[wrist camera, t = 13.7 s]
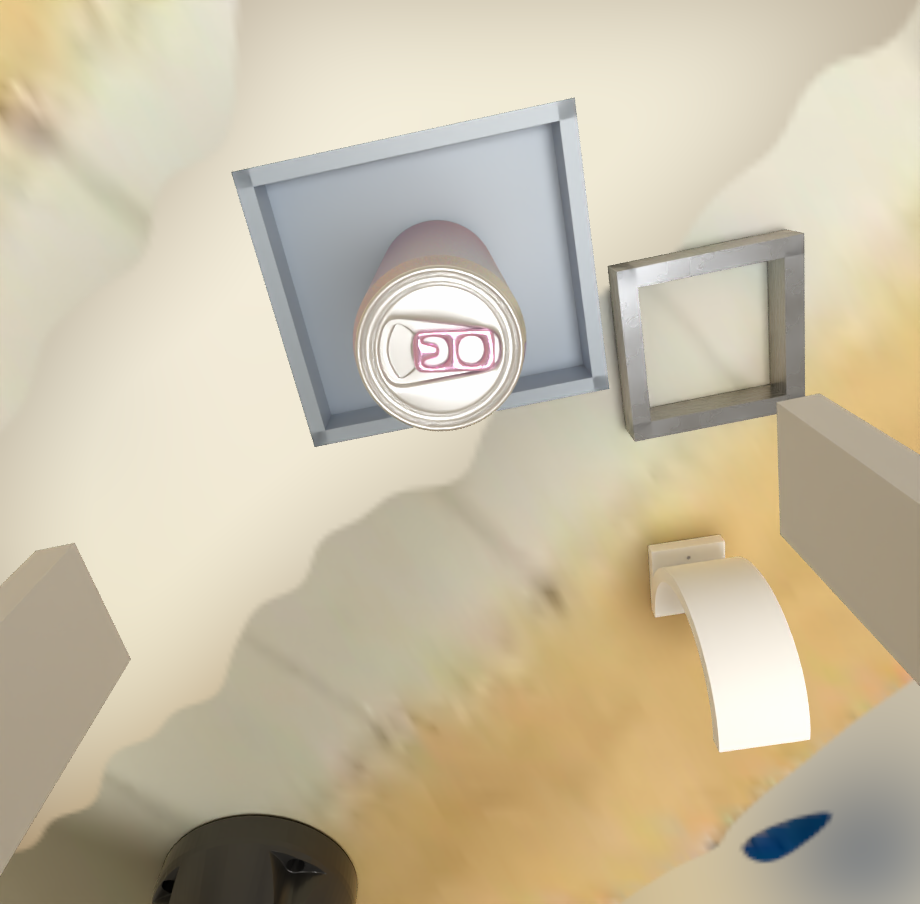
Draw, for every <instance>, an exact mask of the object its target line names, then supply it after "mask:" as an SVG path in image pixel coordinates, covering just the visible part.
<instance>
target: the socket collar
mask: <svg viewBox="0 0 920 904" xmlns="http://www.w3.org/2000/svg"><path fill="white" fill-rule="evenodd" d="M765 261H768V301H769V342H770V384H769V385H764V386H759V387H754V388H749V389H744V390H739V391H733V392H728V393H723V394H718V395H713V396H708V397H703V398H698V399H693V400H687V401H682V402H677V403H672V404H667V405H662V406H657V407H652V408H650V407H649V396H648V386H647V376H646V365H645V355H644V345H643V334H642V324H641V314H640V303H639V293H638V287H643V286H647V285H652V284H657V283H662V282H667V281H672V280H677V279H682V278H687V277H692V276H696V275H701V274H706V273H711V272H716V271H721V270H726V269H731V268H736V267H741V266H746V265H750V264H755V263H760V262H765ZM608 274H609V283H610V292H611V300H612V309H613V318H614V327H615V336H616V345H617V354H618V363H619V372H620V381H621V390H622V399H623V407H624V416H625V425H626V430H627V431H628V432H629V434H630V435H631V437H632V438H633V440H634V441H640V440H645V439H650V438H655V437H660V436H666V435H671V434H676V433H681V432H686V431H691V430H697V429H702V428H707V427H712V426H717V425H722V424H727V423H733V422H738V421H743V420H748V419H753V418H758V417H764V416H769V415H774V414H777V402H780V401H785V400H790V399H795V398H800V397H805V322H804V233H800V232H795V231H791V230H781V231H776V232H771V233H766V234H761V235H756V236H752V237H747V238H742V239H737V240H732V241H727V242H722V243H718V244H713V245H708V246H703V247H698V248H693V249H688V250H683V251H679V252H674V253H669V254H664V255H659V256H654V257H649V258H645V259H640V260H635V261H631V262H626V263H620V264H616V265H611V266H608Z"/></svg>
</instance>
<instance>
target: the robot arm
mask: <svg viewBox="0 0 920 904" xmlns="http://www.w3.org/2000/svg"><path fill="white" fill-rule="evenodd" d="M777 435H778V472H779V508H780V535H781V536H782V537H783V538H784V539H785V540H786V541H787V542H788V543H789V544H790V545H791V547H792V548H793V549H794V550H795V551H796V552H797V553H798V554H799V555H800V556H801V557H802V558H803V560H804V561H805V562H806V563H807V564H808V565H809V566H810V567H811V568H812V569H813V570H814V572H815V573H816V574H817V575H818V576H819V577H820V578H821V579H822V580H823V581H824V582H825V583H826V585H827V586H828V587H829V588H830V589H831V590H832V591H833V592H834V593H835V594H836V595H837V597H838V598H839V599H840V600H841V601H842V602H843V603H844V604H845V605H846V606H847V607H848V608H849V610H850V611H851V612H852V613H853V614H854V615H855V616H856V617H857V618H858V619H859V620H860V622H861V623H862V624H863V625H864V626H865V627H866V628H867V629H868V630H869V631H870V632H871V633H872V635H873V636H874V637H875V638H876V639H877V640H878V641H879V642H880V643H881V644H882V645H883V647H884V648H885V649H886V650H887V651H888V652H889V653H890V654H891V655H892V656H893V657H894V658H895V660H896V661H897V662H898V663H899V664H900V665H901V666H902V667H903V668H904V669H905V670H906V672H907V673H908V674H909V675H910V676H911V677H912V678H913V679H914V680H915V681H916V682H917V683H918V685H920V455H919V454H918V453H916V452H914V451H913V450H911V449H909V448H908V447H906V446H905V445H903V444H901V443H900V442H898V441H896V440H895V439H893V438H891V437H890V436H888V435H887V434H885V433H883V432H882V431H880V430H878V429H877V428H875V427H873V426H872V425H870V424H869V423H867V422H865V421H864V420H862V419H860V418H859V417H857V416H856V415H854V414H852V413H851V412H849V411H847V410H846V409H844V408H842V407H841V406H839V405H838V404H836V403H834V402H833V401H831V400H829V399H828V398H826V397H824V396H823V395H821V394H815V395H810V396H805V397H800V398H795V399H790V400H785V401H780V402H777ZM129 661H130V656H129V655H128V652H127V651H126V648H125V646H124V644H123V642H122V640H121V638H120V636H119V634H118V632H117V630H116V627H115V625H114V623H113V621H112V619H111V617H110V615H109V613H108V611H107V609H106V607H105V605H104V603H103V601H102V599H101V596H100V594H99V592H98V590H97V588H96V586H95V585H94V582H93V580H92V578H91V576H90V574H89V572H88V570H87V567H86V565H85V563H84V561H83V559H82V557H81V555H80V553H79V551H78V549H77V547H76V545H75V543H73V544H67V545H62V546H57V547H52V548H47V549H43V550H38V551H35V552H34V553H33V554H32V555H31V556H30V557H29V558H28V559H27V560H26V561H25V562H24V563H23V564H22V565H21V566H20V567H19V568H18V569H17V570H16V571H15V572H14V573H13V574H12V575H11V576H10V577H9V578H8V579H7V580H6V581H5V582H4V583H3V584H2V585H1V586H0V876H1V874H2V872H3V871H4V869H5V867H6V866H7V864H8V862H9V861H10V859H11V857H12V856H13V854H14V852H15V851H16V849H17V847H18V846H19V844H20V842H21V840H22V839H23V837H24V835H25V834H26V832H27V831H28V829H29V827H30V826H31V824H32V822H33V821H34V819H35V817H36V816H37V814H38V812H39V811H40V809H41V807H42V806H43V804H44V802H45V801H46V799H47V797H48V796H49V794H50V793H51V791H52V789H53V788H54V786H55V784H56V783H57V781H58V779H59V777H60V776H61V774H62V773H63V771H64V769H65V768H66V766H67V764H68V762H69V761H70V759H71V758H72V756H73V754H74V752H75V751H76V749H77V748H78V746H79V744H80V742H81V741H82V739H83V738H84V736H85V734H86V733H87V731H88V729H89V728H90V726H91V724H92V723H93V721H94V719H95V718H96V716H97V714H98V713H99V711H100V709H101V708H102V706H103V704H104V703H105V701H106V699H107V698H108V696H109V694H110V693H111V691H112V689H113V688H114V686H115V684H116V683H117V681H118V679H119V678H120V676H121V674H122V673H123V671H124V670H125V668H126V666H127V664H128V663H129ZM356 897H357V877H356V873H355V870H354V867H353V865H352V863H351V861H350V860H349V858H348V857H347V855H346V854H345V853H344V851H343V850H342V849H341V848H340V847H339V846H338V845H337V844H335V843H334V842H333V841H332V840H331V839H329V838H328V837H326V836H325V835H323V834H321V833H320V832H318V831H316V830H314V829H312V828H310V827H307V826H305V825H302V824H300V823H297V822H293V821H290V820H285V819H281V818H275V817H267V816H241V817H232V818H227V819H222V820H218V821H215V822H211V823H209V824H206V825H204V826H201V827H199V828H197V829H195V830H194V831H192V832H190V833H189V834H187V835H186V836H184V837H183V838H182V839H181V840H180V841H179V842H177V843H176V845H175V846H174V847H173V848H172V849H171V851H170V852H169V854H168V856H167V857H166V860H165V862H164V865H163V867H162V870H161V873H160V875H159V878H158V880H157V883H156V886H155V889H154V894H153V900H152V904H356Z"/></svg>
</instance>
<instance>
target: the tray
mask: <svg viewBox="0 0 920 904" xmlns="http://www.w3.org/2000/svg"><path fill="white" fill-rule="evenodd" d="M232 176H233V179H234V183H235V186H236V189H237V193H238V196H239V199H240V203H241V206H242V209H243V212H244V216H245V219H246V222H247V226H248V229H249V232H250V235H251V239H252V242H253V245H254V248H255V252H256V255H257V258H258V262H259V265H260V268H261V271H262V275H263V278H264V281H265V285H266V288H267V291H268V295H269V298H270V301H271V305H272V308H273V311H274V314H275V318H276V321H277V324H278V328H279V331H280V334H281V337H282V341H283V344H284V347H285V351H286V353H287V357H288V361H289V364H290V367H291V370H292V373H293V377H294V380H295V384H296V386H297V390H298V393H299V397H300V400H301V403H302V407H303V410H304V413H305V416H306V420H307V423H308V426H309V429H310V433H311V436H312V439H313V442H314V446H315V447H317V446H322V445H327V444H332V443H337V442H342V441H347V440H352V439H357V438H362V437H367V436H372V435H378V434H383V433H387V432H393V431H398V430H402V429H407V428H413V427H412V426H409V425H407V424H405V423H402V422H400V421H399V420H397V419H395V418H394V417H392V416H391V415H389V414H388V413H387V412H385V411H384V410H383V409H382V408H381V407H380V406H379V405H378V404H377V403H376V402H375V401H374V400H373V398H372V397H371V396H370V394H369V393H368V391H367V389H366V388H365V386H364V384H363V382H362V379H361V377H360V374H359V371H358V368H357V365H356V361H355V357H354V351H353V329H354V323H355V319H356V315H357V312H358V309H359V307H360V305H361V303H362V301H363V298H364V296H365V294H366V292H367V290H368V288H369V286H370V284H371V282H372V280H373V278H374V276H375V274H376V272H377V270H378V268H379V266H380V264H381V262H382V260H383V258H384V256H385V254H386V252H387V250H388V248H389V246H390V245H391V243H392V242H393V241H394V240H395V239H396V238H397V237H398V236H399V235H400V234H401V233H402V232H404V231H405V230H406V229H408V228H410V227H412V226H414V225H416V224H419V223H422V222H426V221H432V220H443V221H450V222H453V223H456V224H459V225H461V226H464V227H465V228H467V229H469V230H470V231H472V232H473V233H474V234H475V235H476V236H478V237H479V238H480V240H481V241H482V242H483V243H484V244H485V246H486V247H487V249H488V251H489V253H490V254H491V256H492V258H493V260H494V262H495V263H496V265H497V267H498V269H499V271H500V272H501V274H502V276H503V278H504V279H505V281H506V283H507V285H508V287H509V288H510V290H511V292H512V294H513V296H514V297H515V299H516V301H517V303H518V305H519V307H520V310H521V312H522V315H523V319H524V323H525V328H526V352H525V358H524V362H523V366H522V370H521V373H520V376H519V379H518V381H517V383H516V385H515V387H514V389H513V391H512V392H511V394H510V395H509V397H508V398H507V399H506V401H505V402H504V403H503V404H502V405H501V406H500V407H499V408H498V409H497V410H496V411H499V410H504V409H509V408H514V407H519V406H524V405H529V404H534V403H539V402H545V401H550V400H555V399H560V398H565V397H570V396H575V395H580V394H585V393H590V392H595V391H600V390H605V389H609V382H608V373H607V365H606V357H605V348H604V340H603V331H602V323H601V315H600V306H599V298H598V290H597V281H596V273H595V265H594V256H593V248H592V239H591V232H590V223H589V215H588V206H587V197H586V189H585V181H584V172H583V164H582V155H581V147H580V140H579V130H578V122H577V113H576V106H575V98H570V99H566V100H562V101H556V102H552V103H547V104H543V105H538V106H534V107H529V108H524V109H520V110H515V111H510V112H506V113H501V114H497V115H492V116H487V117H483V118H478V119H474V120H469V121H465V122H460V123H456V124H451V125H446V126H442V127H437V128H432V129H428V130H423V131H418V132H414V133H409V134H405V135H400V136H395V137H391V138H386V139H382V140H377V141H372V142H368V143H363V144H359V145H354V146H349V147H345V148H340V149H336V150H331V151H327V152H322V153H317V154H313V155H308V156H304V157H299V158H294V159H290V160H285V161H281V162H276V163H271V164H267V165H262V166H257V167H253V168H249V169H244V170H239V171H235V172H232Z"/></svg>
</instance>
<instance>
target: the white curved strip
mask: <svg viewBox="0 0 920 904" xmlns="http://www.w3.org/2000/svg"><path fill="white" fill-rule="evenodd" d="M648 555H649V573H650V590H651V608H652V612H653V614H654V616H655V617H662V616H668V615H675V614H682V613H685V614H686V616H687V619H688V621H689V624H690V627H691V630H692V632H693V635H694V638H695V642H696V645H697V648H698V652H699V656H700V659H701V663H702V667H703V671H704V676H705V680H706V685H707V690H708V696H709V702H710V708H711V716H712V726H713V740H714V742H715V744H716V746H717V749H718V751H719V752H725V751H732V750H739V749H747V748H754V747H761V746H768V745H775V744H782V743H789V742H796V741H803V740H810V714H809V705H808V698H807V692H806V686H805V681H804V676H803V672H802V668H801V664H800V660H799V656H798V653H797V650H796V646H795V643H794V640H793V637H792V634H791V631H790V629H789V626H788V623H787V621H786V618H785V616H784V614H783V611H782V609H781V607H780V605H779V603H778V601H777V599H776V597H775V595H774V593H773V591H772V589H771V588H770V586H769V584H768V583H767V581H766V580H765V578H764V577H763V575H762V574H761V573H760V572H759V570H758V569H757V568H756V567H755V566H754V565H753V564H752V563H751V562H750V561H748V560H747V559H745V558H743V557H730V558H725V541H724V539H723V538H722V537H721V535H714V536H707V537H700V538H694V539H687V540H680V541H674V542H667V543H660V544H654V545H648Z"/></svg>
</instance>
